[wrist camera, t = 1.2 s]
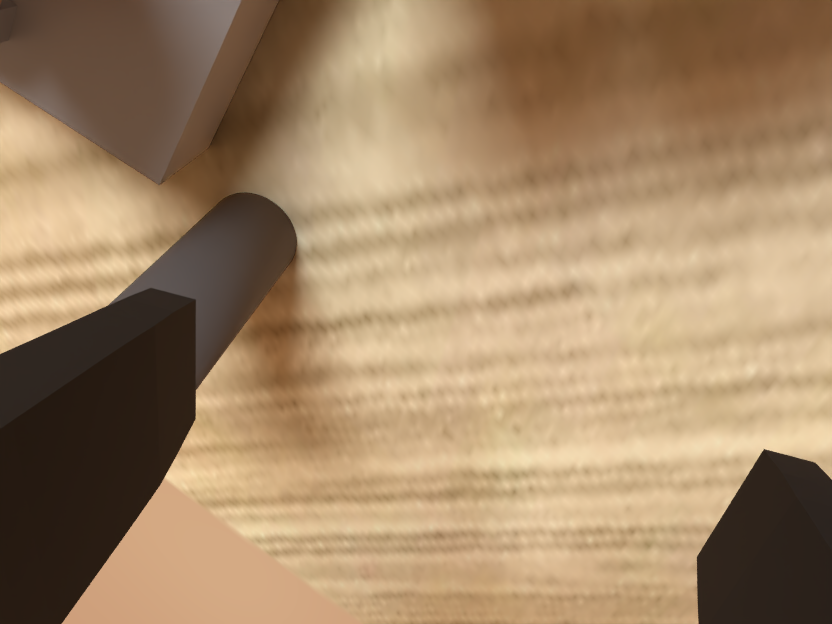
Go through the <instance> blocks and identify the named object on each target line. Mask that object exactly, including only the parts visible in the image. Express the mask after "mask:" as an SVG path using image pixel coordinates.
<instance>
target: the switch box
mask: <svg viewBox="0 0 832 624" xmlns="http://www.w3.org/2000/svg"><path fill="white" fill-rule="evenodd" d="M278 1H279V0H1V3H0V82H1V83H2V84H4V85H5V86H7V87H8V88H10V89H12V90H13V91H15V92H16V93H18V94H19V95H21V96H22V97H24V98H25V99H27V100H29V101H30V102H32V103H33V104H35V105H36V106H38V107H39V108H41V109H42V110H44V111H46V112H47V113H49V114H50V115H52V116H53V117H55V118H56V119H58V120H59V121H61V122H63V123H64V124H66V125H67V126H69V127H70V128H72V129H73V130H75V131H76V132H78V133H80V134H81V135H83V136H84V137H86V138H87V139H89V140H90V141H92V142H93V143H95V144H97V145H98V146H100V147H101V148H103V149H104V150H106V151H107V152H109V153H110V154H112V155H114V156H115V157H117V158H118V159H120V160H121V161H123V162H124V163H126V164H127V165H129V166H130V167H132V168H134V169H135V170H137V171H138V172H140V173H141V174H143V175H144V176H146V177H147V178H149V179H151V180H152V181H154V182H155V183H157V184H158V185H160V184H162V183H163V182H164V181H165V180H167V179H168V178H169V177H171V176H172V175H173V174H175V173H176V172H177V171H179V170H180V169H181V168H183V167H184V166H185V165H187V164H188V163H189V162H191V161H192V160H193V159H195V158H196V157H197V156H199V155H200V154H201V153H202V152H204V151H205V150H206V149H208V148H209V146H210V144H211V142H212V140H213V138H214V136H215V133H216V131H217V129H218V127H219V125H220V123H221V121H222V119H223V117H224V115H225V112H226V110H227V108H228V106H229V104H230V102H231V100H232V98H233V96H234V94H235V91H236V89H237V87H238V85H239V83H240V81H241V79H242V77H243V75H244V73H245V70H246V68H247V66H248V64H249V62H250V60H251V58H252V56H253V54H254V52H255V49H256V47H257V45H258V43H259V41H260V39H261V37H262V35H263V33H264V31H265V28H266V26H267V24H268V22H269V20H270V18H271V16H272V14H273V12H274V10H275V7H276V5H277V3H278Z"/></svg>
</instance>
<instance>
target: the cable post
mask: <svg viewBox="0 0 832 624" xmlns="http://www.w3.org/2000/svg"><path fill="white" fill-rule="evenodd" d="M296 242H297V241H296V234H295V230H294V228H293V225H292V223H291V221H290V219H289V218H288V216H287V215H286V214H285V213H284V211H283V210H282V209H281V208H280V207H278V206H277V205H276V204H275V203H273V202H272V201H270V200H269V199H267V198H265V197H262V196H260V195H256V194H252V193H237V194H233V195H230V196H228V197H226V198H224V199H223V200H222V201H220V202H219V203H218V204H217V205H216V206H215V207H214V208H213V209H212V210H211V211H210V212H208V213H207V214H206V215H205V216H204V217H203V218H202V219H201V220H200V221H199V222H198V223H197V224H196V225H194V226H193V227H192V228H191V229H190V230H189V231H188V232H187V233H186V234H185V235H184V236H183V237H182V238H180V239H179V240H178V241H177V242H176V243H175V244H174V245H173V246H172V247H171V248H170V249H169V250H167V251H166V252H165V253H164V254H163V255H162V256H161V257H160V258H159V259H158V260H157V261H156V262H155V263H153V264H152V265H151V266H150V267H149V268H148V269H147V270H146V271H145V272H144V273H143V274H142V275H141V276H139V277H138V278H137V279H136V280H135V281H134V282H133V283H132V284H131V285H130V286H129V287H128V288H127V289H125V290H124V291H123V292H122V293H121V294H120V295H119V296H118V297H117V298H116V299H115V300H114V301H112V302H111V303H110V304H109V305H111V304H113V303H115V302H117V301H120V300H122V299H124V298H127V297H129V296H131V295H134V294H136V293H139V292H141V291H144V290H146V289H149V288H154V289H158V290H162V291H166V292H169V293H173V294H177V295H181V296H185V297H188V298H192V299H196V389H197V388H198V387H199V385H200V384H201V383H202V381H203V380H204V379H205V377H206V376H207V375H208V373H209V372H210V370H211V369H212V368H213V366H214V365H215V364H216V362H217V361H218V360H219V358H220V357H221V356H222V354H223V353H224V352H225V350H226V349H227V347H228V346H229V345H230V343H231V342H232V341H233V339H234V338H235V337H236V335H237V334H238V333H239V331H240V330H241V328H242V327H243V326H244V324H245V323H246V322H247V320H248V319H249V318H250V316H251V315H252V314H253V312H254V311H255V309H256V308H257V307H258V305H259V304H260V303H261V301H262V300H263V299H264V297H265V296H266V295H267V293H268V292H269V290H270V289H271V288H272V286H273V285H274V284H275V282H276V281H277V280H278V278H279V277H280V276H281V274H282V273H283V271H284V270H285V269H286V267H287V266H288V265H289V263H290V262H291V261H292V259H293V257H294V255H295V251H296Z"/></svg>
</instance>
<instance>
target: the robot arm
mask: <svg viewBox="0 0 832 624" xmlns="http://www.w3.org/2000/svg"><path fill="white" fill-rule="evenodd" d="M195 416H196V299H192V298H188V297H185V296H181V295H177V294H173V293H169V292H166V291H162V290H158V289H154V288H149V289H146V290H144V291H141V292H139V293H136V294H134V295H131V296H129V297H127V298H124V299H122V300H120V301H117V302H115V303H113V304H111V305H108V306H106V307H104V308H102V309H100V310H97V311H95V312H93V313H91V314H89V315H86V316H84V317H82V318H80V319H78V320H75V321H73V322H71V323H69V324H67V325H65V326H62V327H60V328H58V329H56V330H53V331H51V332H49V333H47V334H44V335H42V336H40V337H38V338H36V339H33V340H31V341H29V342H27V343H24V344H22V345H20V346H18V347H15V348H13V349H11V350H9V351H6V352H4V353H2V354H0V624H61V623H62V622H63V621H64V620H65V618H66V617H67V615H68V614H69V612H70V611H71V610H72V608H73V607H74V605H75V604H76V603H77V601H78V600H79V599H80V597H81V596H82V594H83V593H84V592H85V590H86V589H87V587H88V586H89V585H90V583H91V582H92V580H93V579H94V578H95V576H96V575H97V573H98V572H99V571H100V569H101V568H102V566H103V565H104V564H105V562H106V561H107V559H108V558H109V556H110V555H111V554H112V553H113V551H114V550H115V548H116V547H117V546H118V544H119V543H120V541H121V540H122V538H123V537H124V536H125V534H126V533H127V532H128V530H129V529H130V527H131V526H132V524H133V523H134V522H135V520H136V519H137V517H138V516H139V514H140V513H141V512H142V510H143V509H144V507H145V506H146V505H147V503H148V502H149V500H150V499H151V497H152V496H153V494H154V493H155V492H156V490H157V489H158V487H159V486H160V484H161V483H162V481H163V479H164V477H165V475H166V473H167V472H168V470H169V468H170V466H171V464H172V463H173V461H174V459H175V457H176V455H177V454H178V452H179V450H180V448H181V446H182V444H183V442H184V440H185V438H186V436H187V434H188V432H189V430H190V428H191V426H192V425H193V423H194V421H195ZM697 589H698V618H699V624H832V480H831V479H830V477H829V476H828V475H827V474H826V473H825V472H824V471H823V470H822V469H821V468H820V467H819V466H818V465H817V464H816V463H814V462H811V461H807V460H803V459H799V458H796V457H792V456H788V455H784V454H780V453H777V452H773V451H769V450H765V449H764V450H763V452H762V453H761V455H760V456H759V458H758V460H757V461H756V463H755V465H754V466H753V468H752V469H751V471H750V473H749V474H748V476H747V477H746V479H745V481H744V482H743V484H742V485H741V487H740V489H739V490H738V492H737V493H736V495H735V497H734V498H733V500H732V501H731V503H730V505H729V506H728V508H727V510H726V511H725V513H724V514H723V516H722V518H721V519H720V521H719V522H718V524H717V526H716V527H715V529H714V530H713V532H712V534H711V535H710V537H709V538H708V540H707V542H706V543H705V545H704V546H703V548H702V550H701V551H700V553H699V554H698V556H697Z"/></svg>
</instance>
